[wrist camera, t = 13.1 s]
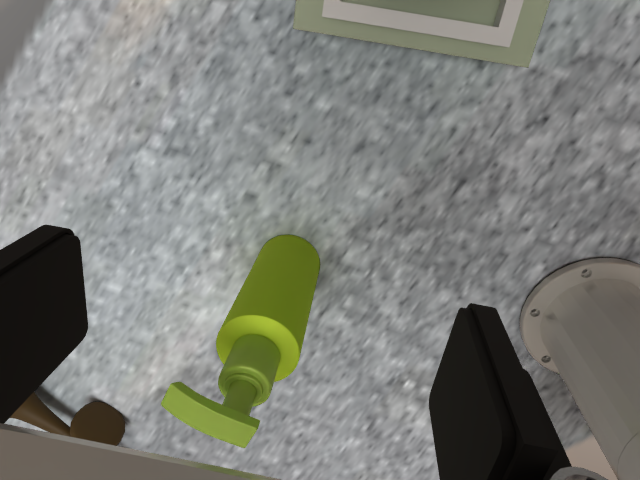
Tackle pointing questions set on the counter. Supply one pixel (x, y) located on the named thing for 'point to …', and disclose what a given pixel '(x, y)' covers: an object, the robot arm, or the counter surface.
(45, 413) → the kendama
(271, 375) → the soap dispenser
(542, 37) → the counter surface
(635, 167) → the counter surface
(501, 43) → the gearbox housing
